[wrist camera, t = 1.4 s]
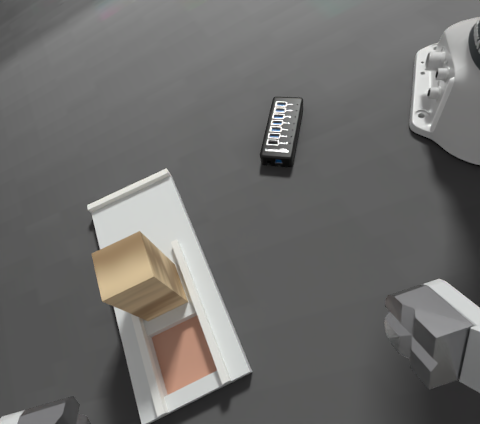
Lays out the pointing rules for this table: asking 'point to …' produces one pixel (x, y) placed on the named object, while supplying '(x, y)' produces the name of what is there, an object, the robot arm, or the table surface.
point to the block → (138, 278)
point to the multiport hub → (282, 132)
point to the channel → (179, 319)
